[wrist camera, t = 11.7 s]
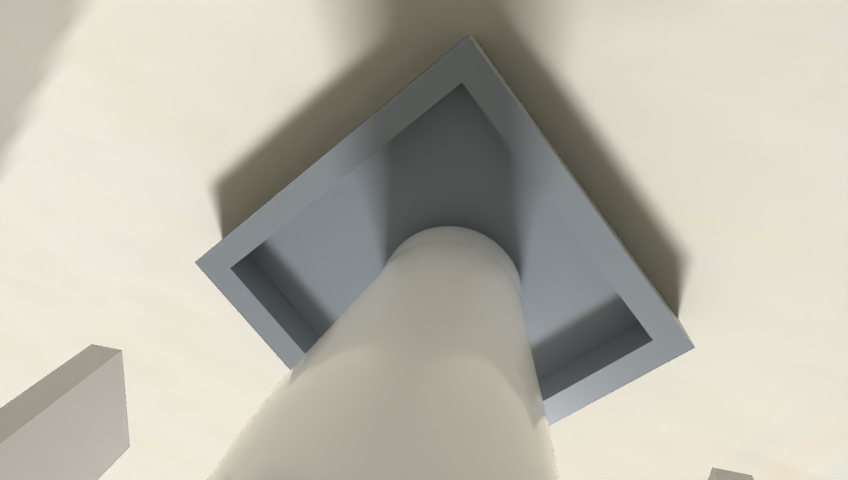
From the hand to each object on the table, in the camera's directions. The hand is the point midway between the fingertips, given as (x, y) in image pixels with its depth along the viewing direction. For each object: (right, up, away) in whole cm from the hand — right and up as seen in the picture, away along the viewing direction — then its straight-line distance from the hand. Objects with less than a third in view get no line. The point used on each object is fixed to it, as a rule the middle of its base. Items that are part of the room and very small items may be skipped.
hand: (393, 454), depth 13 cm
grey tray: (+1, +3, +10) cm, 11 cm away
